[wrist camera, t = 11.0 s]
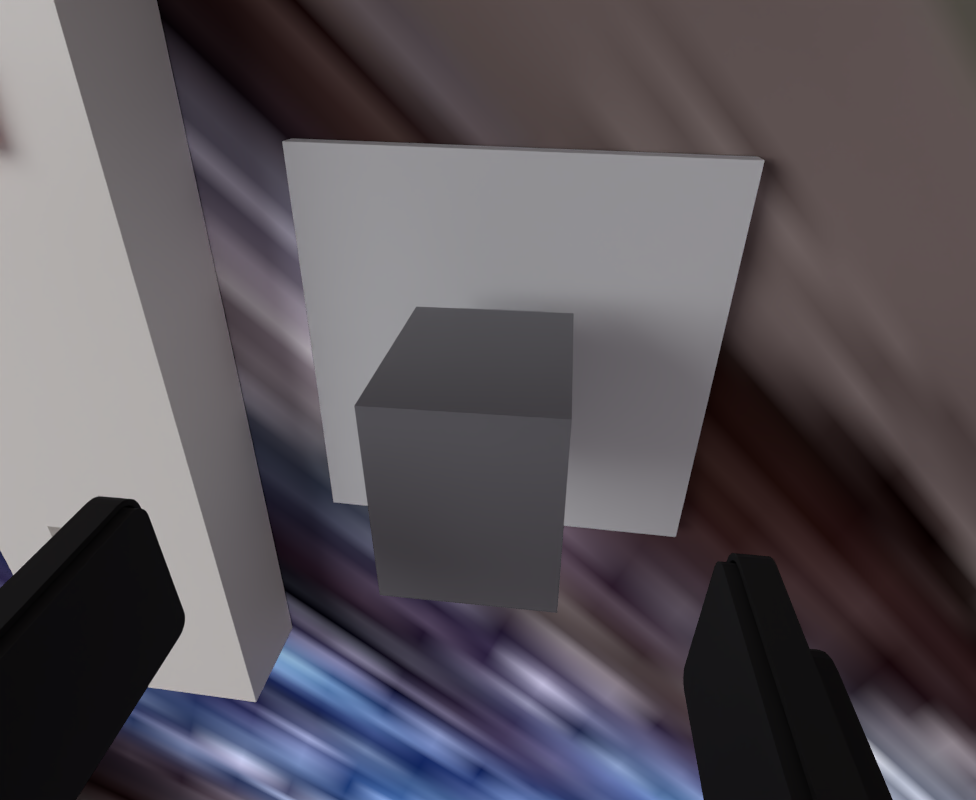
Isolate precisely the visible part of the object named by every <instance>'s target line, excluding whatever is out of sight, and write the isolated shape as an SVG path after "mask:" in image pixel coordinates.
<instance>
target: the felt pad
mask: <svg viewBox="0 0 976 800" xmlns="http://www.w3.org/2000/svg"><path fill="white" fill-rule="evenodd" d="M282 144H283V151H284V158H285V165H286V172H287V179H288V186H289V193H290V200H291V207H292V214H293V221H294V228H295V235H296V242H297V249H298V256H299V263H300V270H301V277H302V284H303V291H304V298H305V305H306V312H307V319H308V326H309V333H310V340H311V347H312V354H313V361H314V368H315V375H316V382H317V389H318V396H319V403H320V410H321V417H322V424H323V432H324V439H325V446H326V453H327V460H328V467H329V474H330V481H331V488H332V495H333V502H336V503H346V504H356V505H366V506H368V503H367V496H366V489H365V481H364V474H363V467H362V459H361V452H360V444H359V437H358V430H357V422H356V415H355V408H354V405H355V404H356V402H357V401H358V399H359V397H360V396H361V394H362V393H363V391H364V389H365V388H366V386H367V385H368V383H369V381H370V380H371V378H372V377H373V375H374V373H375V372H376V370H377V369H378V367H379V365H380V364H381V362H382V361H383V359H384V357H385V356H386V354H387V353H388V351H389V349H390V348H391V346H392V345H393V343H394V341H395V340H396V338H397V336H398V335H399V333H400V332H401V330H402V328H403V327H404V325H405V324H406V322H407V320H408V319H409V317H410V316H411V314H412V312H413V311H414V309H415V308H416V307H439V308H480V309H503V310H526V311H544V312H554V313H574V319H573V379H572V424H571V437H570V450H569V463H568V476H567V489H566V502H565V515H564V526H573V527H582V528H592V529H602V530H612V531H622V532H632V533H642V534H651V535H661V536H671V537H676V534H677V529H678V525H679V521H680V517H681V512H682V508H683V504H684V500H685V496H686V491H687V487H688V483H689V479H690V474H691V470H692V466H693V462H694V457H695V453H696V449H697V445H698V440H699V436H700V432H701V428H702V424H703V419H704V415H705V411H706V407H707V402H708V398H709V394H710V390H711V385H712V381H713V377H714V373H715V369H716V364H717V360H718V356H719V352H720V347H721V343H722V339H723V335H724V330H725V326H726V322H727V318H728V313H729V309H730V305H731V301H732V297H733V292H734V288H735V284H736V280H737V275H738V271H739V267H740V263H741V258H742V254H743V250H744V246H745V242H746V237H747V233H748V229H749V225H750V220H751V216H752V212H753V208H754V203H755V199H756V195H757V191H758V186H759V182H760V178H761V174H762V170H763V165H764V161H765V160H763V159H761V158H760V157H757V156H731V155H705V154H680V153H654V152H628V151H603V150H577V149H551V148H526V147H500V146H474V145H449V144H423V143H397V142H372V141H346V140H320V139H295V138H291V139H288V140H285V141H282Z"/></svg>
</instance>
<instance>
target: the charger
mask: <svg viewBox="0 0 976 800" xmlns="http://www.w3.org/2000/svg"><path fill="white" fill-rule="evenodd" d="M573 319H574V313H554V312H544V311H526V310H503V309H480V308H439V307H416V308H415V309H414V311H413V312H412V314H411V316H410V317H409V319H408V320H407V322H406V324H405V325H404V327H403V328H402V330H401V332H400V333H399V335H398V336H397V338H396V340H395V341H394V343H393V345H392V346H391V348H390V349H389V351H388V353H387V354H386V356H385V357H384V359H383V361H382V362H381V364H380V365H379V367H378V369H377V370H376V372H375V373H374V375H373V377H372V378H371V380H370V381H369V383H368V385H367V386H366V388H365V389H364V391H363V393H362V394H361V396H360V397H359V399H358V401H357V402H356V404H355V405H354V408H355V415H356V422H357V430H358V437H359V444H360V452H361V459H362V467H363V474H364V481H365V489H366V496H367V503H368V511H369V518H370V526H371V533H372V540H373V548H374V555H375V562H376V570H377V577H378V584H379V592H380V595H385V596H395V597H405V598H415V599H425V600H435V601H445V602H455V603H465V604H475V605H485V606H496V607H506V608H516V609H526V610H536V611H546V612H556V613H557V606H558V593H559V580H560V567H561V554H562V541H563V528H564V515H565V502H566V489H567V476H568V463H569V450H570V437H571V424H572V379H573Z"/></svg>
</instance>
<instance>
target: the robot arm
mask: <svg viewBox="0 0 976 800" xmlns="http://www.w3.org/2000/svg"><path fill="white" fill-rule="evenodd" d="M184 624H185V613H184V610H183V607H182V605H181V602H180V599H179V597H178V594H177V591H176V588H175V586H174V583H173V580H172V578H171V575H170V572H169V569H168V567H167V564H166V561H165V559H164V556H163V553H162V550H161V548H160V545H159V542H158V540H157V537H156V534H155V531H154V529H153V526H152V523H151V521H150V518H149V515H148V513H147V512H146V511H145V510H144V509H141V507H140V505H139V503H138V502H137V501H135V500H134V499H126V498H115V497H103V496H98V497H95V498H92V499H91V500H90V501H88V502H87V503H86V504H85V505H84V506H83V507H82V508H81V509H80V510H79V511H78V512H77V513H76V514H75V515H74V516H73V517H72V518H71V519H70V520H69V521H68V522H67V523H66V524H65V525H64V526H63V527H62V528H61V529H60V530H59V531H58V532H57V533H56V534H55V535H54V536H53V537H52V538H51V539H50V540H49V541H48V542H47V543H46V544H45V545H44V546H42V547H41V548H40V549H39V550H38V551H37V552H36V553H35V554H34V555H33V556H32V557H31V558H30V559H29V560H28V561H27V562H26V563H25V564H24V565H23V566H22V567H21V568H20V569H19V570H18V571H17V572H16V573H15V574H14V575H13V576H12V577H11V578H10V579H9V580H8V581H7V582H6V583H5V584H4V585H3V586H2V587H1V588H0V800H76V799H77V797H78V796H79V794H80V792H81V791H82V789H83V788H84V786H85V785H86V783H87V781H88V780H89V778H90V777H91V775H92V774H93V772H94V770H95V769H96V767H97V766H98V764H99V763H100V761H101V759H102V758H103V756H104V755H105V753H106V752H107V750H108V748H109V747H110V745H111V744H112V742H113V741H114V739H115V738H116V736H117V734H118V733H119V731H120V730H121V728H122V727H123V725H124V723H125V722H126V720H127V719H128V717H129V716H130V714H131V712H132V711H133V709H134V708H135V706H136V705H137V703H138V701H139V700H140V698H141V697H142V695H143V694H144V692H145V690H146V689H147V687H148V686H149V684H150V683H151V681H152V679H153V678H154V676H155V675H156V673H157V672H158V670H159V668H160V667H161V665H162V664H163V662H164V661H165V659H166V657H167V656H168V654H169V653H170V651H171V650H172V648H173V646H174V645H175V643H176V642H177V640H178V639H179V637H180V635H181V633H182V631H183V628H184ZM684 692H685V697H686V703H687V709H688V714H689V720H690V725H691V731H692V736H693V742H694V748H695V753H696V759H697V764H698V770H699V775H700V781H701V787H702V792H703V798H704V800H893V799H892V797H891V795H890V792H889V790H888V788H887V785H886V783H885V781H884V778H883V776H882V773H881V771H880V769H879V766H878V764H877V762H876V759H875V757H874V755H873V752H872V750H871V748H870V745H869V743H868V741H867V738H866V736H865V733H864V731H863V729H862V726H861V724H860V722H859V719H858V717H857V715H856V712H855V710H854V708H853V705H852V703H851V701H850V698H849V696H848V693H847V691H846V689H845V686H844V684H843V682H842V679H841V677H840V675H839V672H838V670H837V668H836V666H835V664H834V663H833V661H832V659H831V658H830V657H829V656H828V655H827V654H826V653H825V652H823V651H820V650H815V649H809V647H808V644H807V642H806V639H805V636H804V634H803V631H802V629H801V626H800V624H799V621H798V619H797V616H796V614H795V611H794V609H793V606H792V603H791V601H790V598H789V596H788V593H787V591H786V588H785V586H784V583H783V581H782V578H781V576H780V573H779V570H778V568H777V565H776V563H775V562H774V560H773V559H772V558H771V557H769V556H757V555H746V554H735V553H731V554H730V555H729V557H728V560H727V562H717V563H716V565H715V567H714V571H713V574H712V577H711V581H710V584H709V587H708V591H707V594H706V597H705V601H704V604H703V607H702V611H701V614H700V617H699V621H698V624H697V627H696V630H695V634H694V637H693V640H692V644H691V647H690V650H689V654H688V657H687V660H686V664H685V668H684Z"/></svg>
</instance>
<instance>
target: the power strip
mask: <svg viewBox="0 0 976 800" xmlns="http://www.w3.org/2000/svg"><path fill="white" fill-rule="evenodd" d="M98 496H103V497H115V498H126V499H134V500H135V501H137V502H138V503H139V505H140V507H141V509H144V510H145V511H146V512H147V513H148V515H149V518H150V521H151V523H152V526H153V529H154V531H155V534H156V537H157V540H158V542H159V545H160V548H161V550H162V553H163V556H164V559H165V561H166V564H167V567H168V569H169V572H170V575H171V578H172V580H173V583H174V586H175V588H176V591H177V594H178V597H179V599H180V602H181V605H182V607H183V610H184V613H185V624H184V628H183V631H182V633H181V635H180V637H179V639H178V640H177V642H176V643H175V645H174V646H173V648H172V650H171V651H170V653H169V654H168V656H167V657H166V659H165V661H164V662H163V664H162V665H161V667H160V668H159V670H158V672H157V673H156V675H155V676H154V678H153V679H152V681H151V683H150V684H149V686H148V687H151V688H158V689H165V690H172V691H180V692H187V693H194V694H201V695H209V696H216V697H223V698H230V699H238V700H245V701H252V702H256V701H257V699H258V697H259V695H260V693H261V691H262V689H263V687H264V685H265V683H266V681H267V679H268V677H269V675H270V673H271V671H272V669H273V667H274V665H275V663H276V661H277V659H278V657H279V655H280V652H281V650H282V648H283V646H284V644H285V642H286V640H287V638H288V636H289V634H290V632H291V630H292V623H291V619H290V614H289V610H288V605H287V600H286V596H285V591H284V586H283V582H282V577H281V573H280V568H279V563H278V559H277V554H276V549H275V545H274V540H273V536H272V531H271V526H270V522H269V517H268V512H267V508H266V503H265V499H264V494H263V489H262V485H261V480H260V475H259V471H258V466H257V462H256V457H255V452H254V448H253V443H252V438H251V434H250V429H249V425H248V420H247V415H246V411H245V406H244V402H243V397H242V392H241V388H240V383H239V378H238V374H237V369H236V365H235V360H234V355H233V351H232V346H231V341H230V337H229V332H228V328H227V323H226V318H225V314H224V309H223V304H222V300H221V295H220V291H219V286H218V281H217V277H216V272H215V267H214V263H213V258H212V254H211V249H210V244H209V240H208V235H207V230H206V226H205V221H204V217H203V212H202V207H201V203H200V198H199V193H198V189H197V184H196V180H195V175H194V170H193V166H192V161H191V157H190V152H189V147H188V143H187V138H186V133H185V129H184V124H183V120H182V115H181V110H180V106H179V101H178V96H177V92H176V87H175V83H174V78H173V73H172V69H171V64H170V59H169V55H168V50H167V46H166V41H165V36H164V32H163V27H162V22H161V18H160V13H159V9H158V4H157V0H0V551H1V552H2V554H3V556H4V558H5V560H6V562H7V564H8V566H9V568H10V569H11V571H12V573H13V575H14V574H15V573H16V572H17V571H18V570H19V569H20V568H21V567H22V566H23V565H24V564H25V563H26V562H27V561H28V560H29V559H30V558H31V557H32V556H33V555H34V554H35V553H36V552H37V551H38V550H39V549H40V548H41V547H42V546H44V545H45V544H46V543H47V542H48V541H49V540H50V539H51V538H52V537H53V536H54V535H55V534H56V533H57V532H58V531H59V530H60V529H61V528H62V527H63V526H64V525H65V524H66V523H67V522H68V521H69V520H70V519H71V518H72V517H73V516H74V515H75V514H76V513H77V512H78V511H79V510H80V509H81V508H82V507H83V506H84V505H85V504H86V503H87V502H88V501H90V500H91V499H92V498H95V497H98Z"/></svg>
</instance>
